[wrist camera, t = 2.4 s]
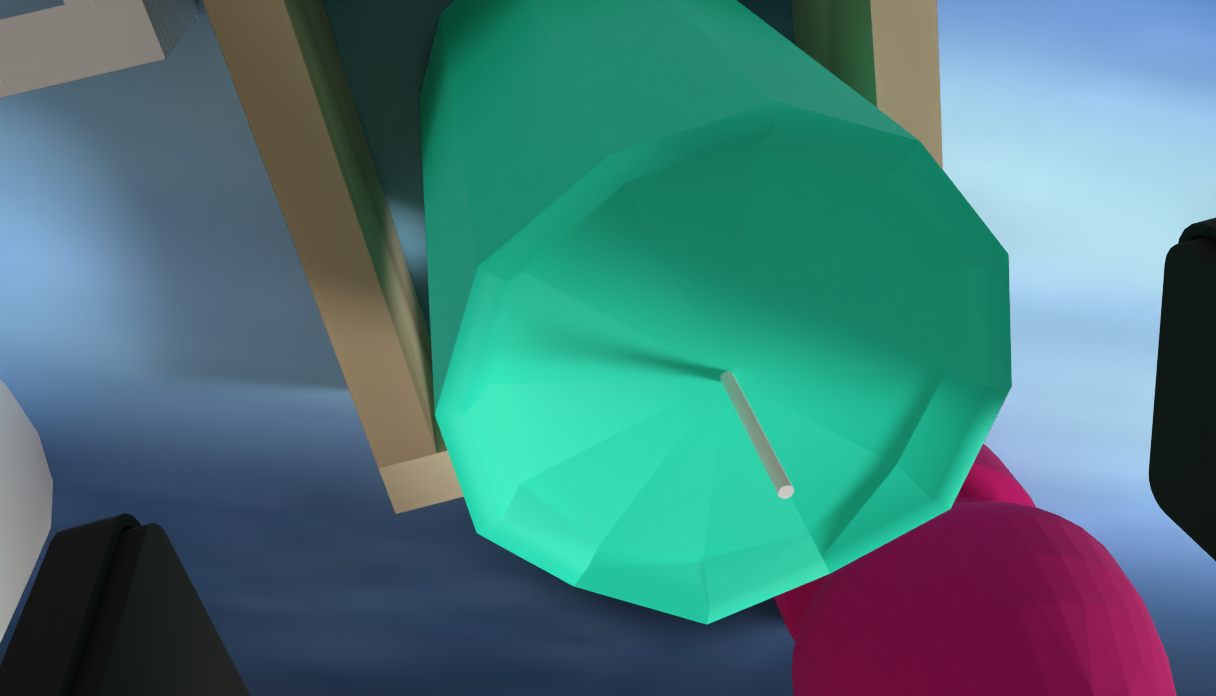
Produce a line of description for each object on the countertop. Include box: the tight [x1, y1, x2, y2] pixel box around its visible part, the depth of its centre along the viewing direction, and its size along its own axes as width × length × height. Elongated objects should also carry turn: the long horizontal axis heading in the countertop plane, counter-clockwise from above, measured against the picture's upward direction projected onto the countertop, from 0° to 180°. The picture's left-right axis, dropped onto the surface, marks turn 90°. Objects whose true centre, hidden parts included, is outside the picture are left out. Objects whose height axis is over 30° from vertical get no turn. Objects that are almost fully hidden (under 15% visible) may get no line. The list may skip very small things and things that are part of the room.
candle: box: [419, 0, 1012, 624], centre depth 15 cm, size 6×6×12 cm
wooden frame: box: [203, 0, 943, 514], centre depth 18 cm, size 10×10×4 cm
